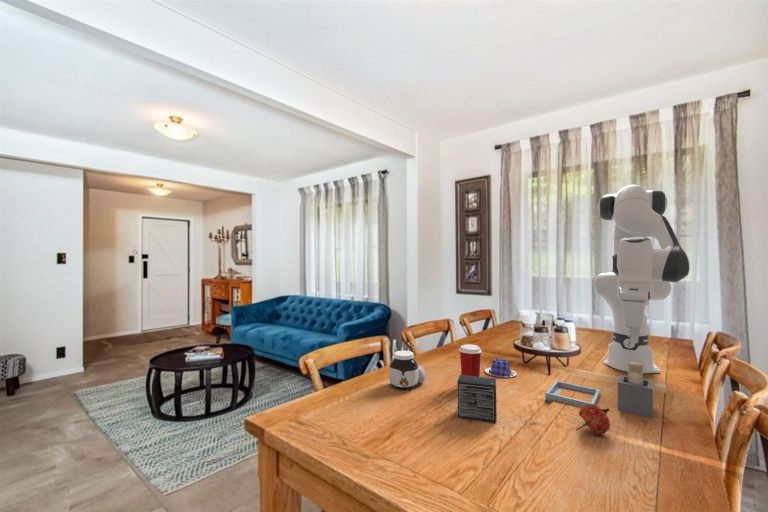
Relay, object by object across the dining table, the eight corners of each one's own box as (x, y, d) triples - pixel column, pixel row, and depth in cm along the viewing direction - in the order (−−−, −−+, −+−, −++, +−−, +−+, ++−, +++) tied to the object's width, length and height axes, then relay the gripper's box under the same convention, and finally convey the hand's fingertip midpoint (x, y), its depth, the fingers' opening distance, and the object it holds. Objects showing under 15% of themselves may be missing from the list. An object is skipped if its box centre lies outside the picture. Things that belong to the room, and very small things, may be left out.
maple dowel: (628, 405, 102) (628, 361, 102) (643, 408, 99) (643, 363, 100) (627, 409, 99) (627, 364, 99) (643, 412, 97) (642, 366, 97)
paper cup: (479, 383, 122) (479, 344, 122) (483, 391, 115) (483, 350, 115) (457, 382, 123) (457, 343, 123) (460, 390, 115) (460, 349, 116)
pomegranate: (587, 448, 85) (624, 429, 82) (566, 420, 87) (602, 400, 84) (583, 437, 91) (617, 419, 89) (564, 411, 94) (597, 393, 91)
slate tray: (556, 387, 118) (556, 380, 118) (600, 397, 110) (600, 389, 110) (545, 400, 107) (545, 393, 107) (593, 412, 99) (593, 404, 99)
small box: (496, 413, 99) (496, 377, 99) (496, 424, 92) (496, 385, 92) (459, 408, 102) (459, 373, 102) (457, 418, 96) (457, 380, 96)
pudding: (519, 372, 135) (519, 359, 135) (513, 381, 125) (513, 367, 125) (489, 367, 142) (489, 354, 142) (480, 375, 131) (480, 361, 131)
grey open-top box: (620, 404, 105) (620, 374, 105) (653, 411, 100) (653, 380, 100) (617, 413, 99) (617, 382, 99) (653, 421, 94) (652, 388, 94)
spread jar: (386, 388, 118) (386, 354, 118) (397, 377, 128) (397, 346, 128) (420, 393, 113) (420, 358, 113) (428, 381, 124) (428, 349, 124)
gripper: (624, 289, 109) (625, 332, 109) (618, 293, 94) (618, 344, 93) (649, 290, 105) (649, 335, 105) (647, 295, 90) (648, 348, 89)
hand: (635, 339), depth 99 cm, fingers open, 8 cm apart
